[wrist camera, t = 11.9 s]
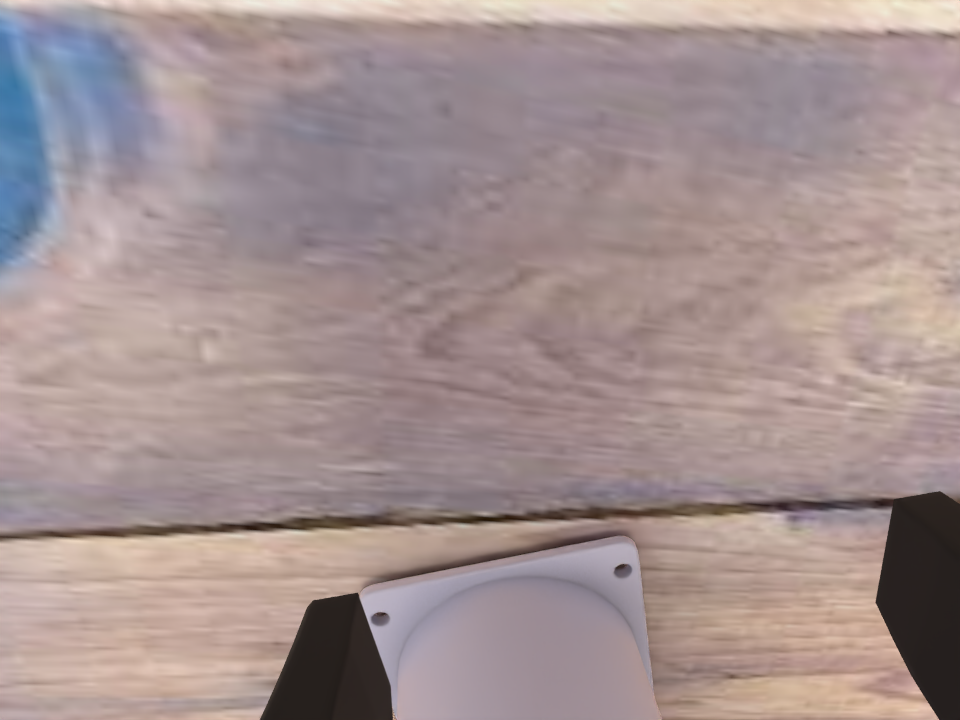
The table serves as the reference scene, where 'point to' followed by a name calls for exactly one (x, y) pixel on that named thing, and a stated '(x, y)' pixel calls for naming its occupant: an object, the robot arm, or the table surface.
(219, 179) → the table surface
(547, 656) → the robot arm
